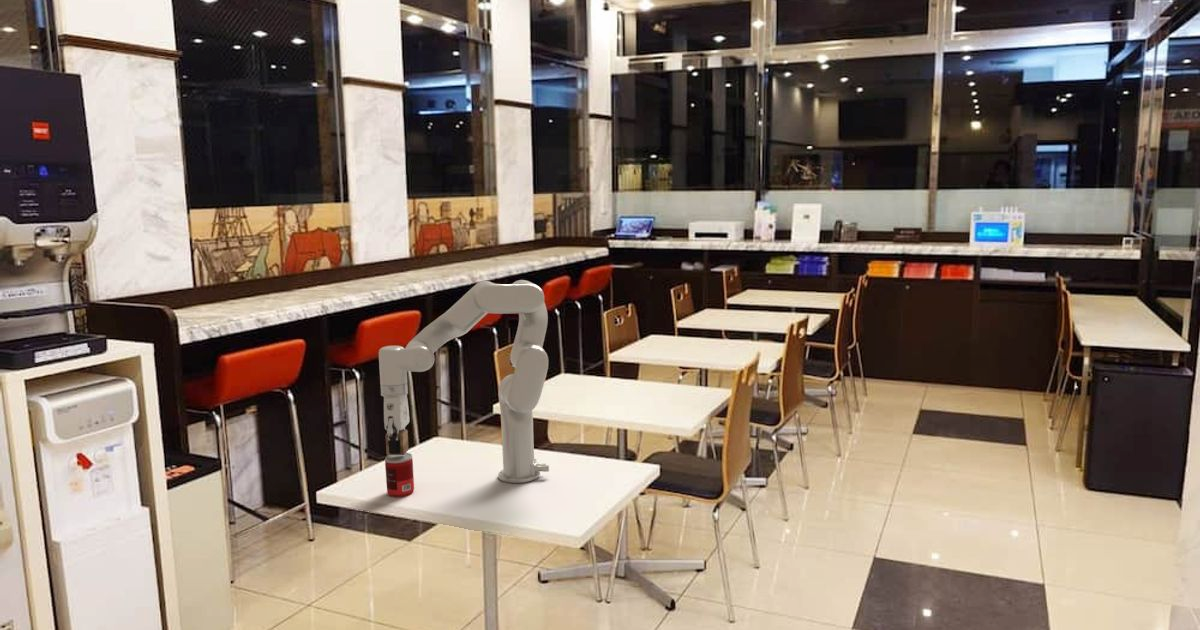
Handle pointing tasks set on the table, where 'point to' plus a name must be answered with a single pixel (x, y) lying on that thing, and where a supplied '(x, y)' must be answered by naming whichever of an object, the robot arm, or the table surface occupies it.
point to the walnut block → (403, 442)
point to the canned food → (399, 475)
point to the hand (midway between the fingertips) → (397, 449)
